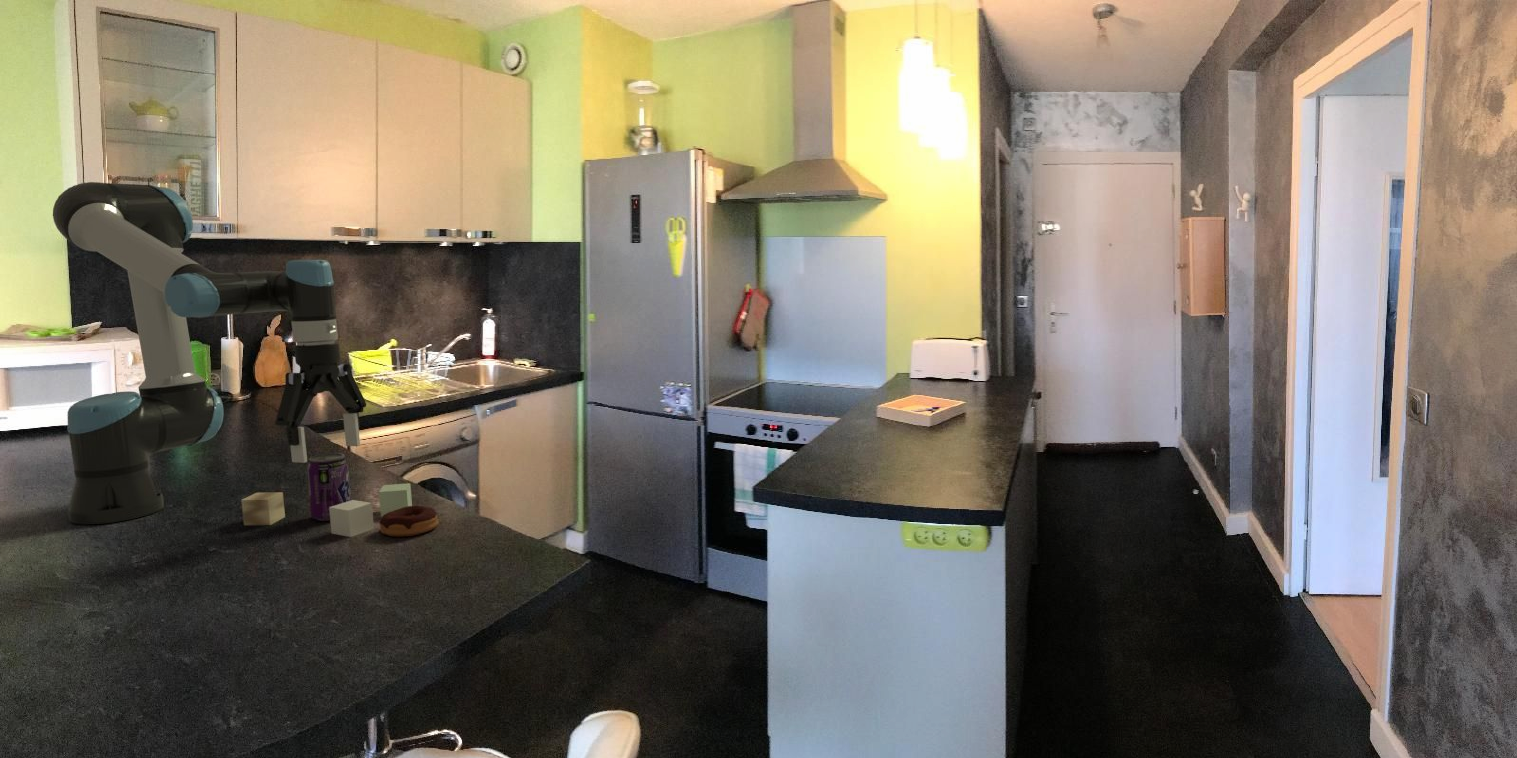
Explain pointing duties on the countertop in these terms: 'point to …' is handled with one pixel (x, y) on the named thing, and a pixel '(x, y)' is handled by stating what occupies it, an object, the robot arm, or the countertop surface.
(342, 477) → the beverage can
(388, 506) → the sage cube
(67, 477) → the countertop surface
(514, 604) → the countertop surface
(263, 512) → the beech cube
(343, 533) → the off-white cube
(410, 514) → the donut
